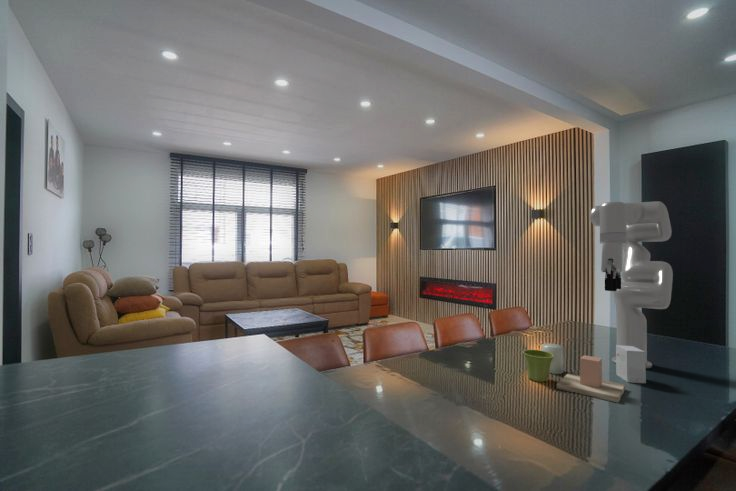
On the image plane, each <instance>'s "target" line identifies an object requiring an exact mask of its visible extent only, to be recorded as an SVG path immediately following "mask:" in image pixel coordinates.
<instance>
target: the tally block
mask: <svg viewBox="0 0 736 491" xmlns="http://www.w3.org/2000/svg"><path fill="white" fill-rule="evenodd" d="M579 375H580V384H582V385H587V386H591V387H596V388H599V387H600V386H601V384H602V380H603V359H602V357H596V356H591V355H585V354H584V355H582V356H581V357H580V358H579Z"/></svg>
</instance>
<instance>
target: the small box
mask: <svg viewBox="0 0 736 491" xmlns="http://www.w3.org/2000/svg"><path fill="white" fill-rule="evenodd" d="M615 357H616V363H615V369H616V371H615V373H616V374H615V375H616V376H618V377H619V378H620V379H622V380H623V381H625V382H627V383H630V384H631V383H632V384H635V383H636V384H647V375H646V374H647V373H646V372H647V371H646V369H647V368H646V360H645V351H643V350H640V349H638V348H636V347H634V346H622V345H617V344H616V345H615Z"/></svg>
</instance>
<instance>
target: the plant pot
mask: <svg viewBox="0 0 736 491" xmlns="http://www.w3.org/2000/svg"><path fill="white" fill-rule="evenodd" d="M522 353H523V355H524V358H525V363H526V371H527V373H526V374H527V377H528V379H529V380H531V381H533V382H538V383H539V382H540V383H543V382H548V381H549V376H550V373H549V370H550V364H551V361H552V358H553V357H554V355H553V354H552V353H549V352H546V351H542V349H541V350H539V349H524V350H523V351H522Z"/></svg>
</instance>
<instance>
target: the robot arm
mask: <svg viewBox="0 0 736 491" xmlns="http://www.w3.org/2000/svg"><path fill="white" fill-rule="evenodd" d="M668 211H669V210H668V208H667V206H666V205H665V203H663V202H662V201H660V200H659V201H658V200H657V201H644V202H623V201H609V202H603V203H601V204H600V205H596V206H595V205H594V206H593V207H592V208H591V210H590V213H589V220H590V222H591V224H592V225H593V226H594V227H599V244H602V247H601V262H600V263H601V267H600V271H601V272H602V273H605V275H604V291H605V292H613V297H614V303H615V310H616V312H615V313H616V314H615V315H616V345H622V346H634V347H636V348H638V349H640V350H643V351H645V360H646V369H650V368H653V364H652V362H650V361H649V360H648V359H647V358H648V350H647V348H648V347H647V346H648V345H647V344H648V339H647V338H648V337H647V334H648V333H647V332H648V331H647V330H648V329H647V328H648V325H647V323H648V322H647V318H646V316H645V314H644V313H643V312H642V311H641V310H640V309H639V308H642V309H654V310H666V309H668V308H669V306H670V304H671V300H672V291H673V281H674V280H673V276H674V273H673V272H674V271H673V268H672V265H670V263H668V262H666V261H663V260H659V261H658V260H656V261H655V260H651V258H652V257H651V252H650V251H649V250H648V249H647V247H645V246H643V245H642V244H640V243H643V242H645V243H648V242H650V243H651V242H653V243H654V242H656V243H657V242H660V243H661V242H667V241H668V240H669V239H671V237H672V234H673V233H672V232H673V231H672V225H671V221H670V215H669V212H668ZM623 252H624V255H623ZM623 256H624V258H623ZM622 280H623V282H622ZM611 362H613V363H615V364H616V356H613V357H611Z"/></svg>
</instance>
